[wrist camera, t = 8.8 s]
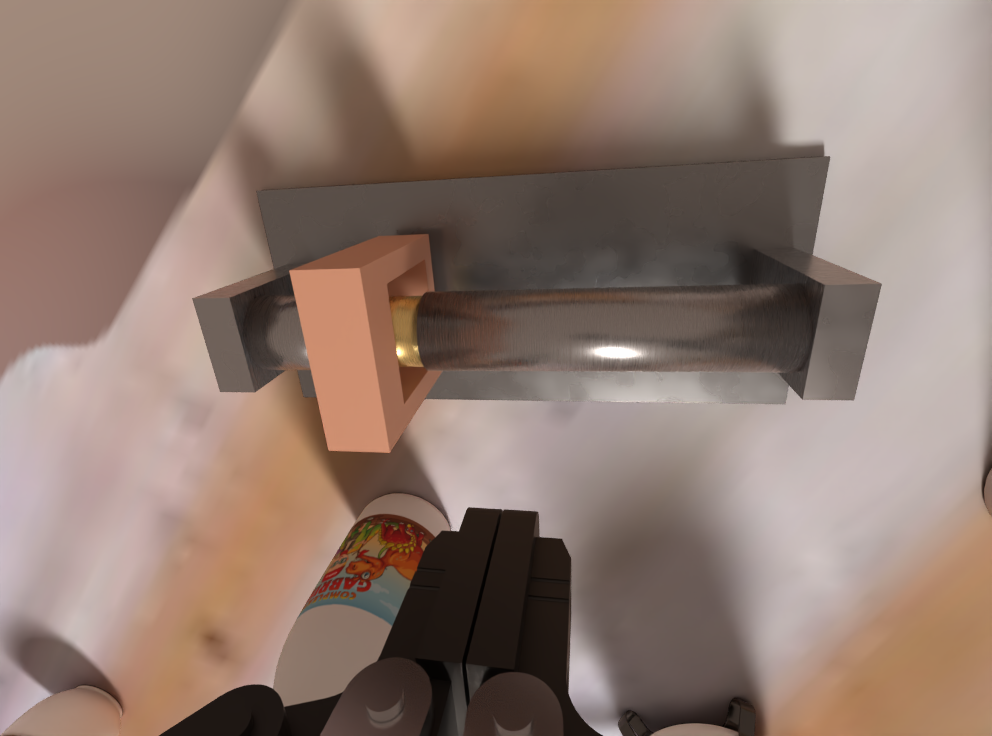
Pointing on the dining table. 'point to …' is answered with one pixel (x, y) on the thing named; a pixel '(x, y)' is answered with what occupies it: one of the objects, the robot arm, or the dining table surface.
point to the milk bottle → (356, 598)
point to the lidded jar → (71, 715)
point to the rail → (577, 286)
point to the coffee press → (698, 724)
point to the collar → (363, 339)
